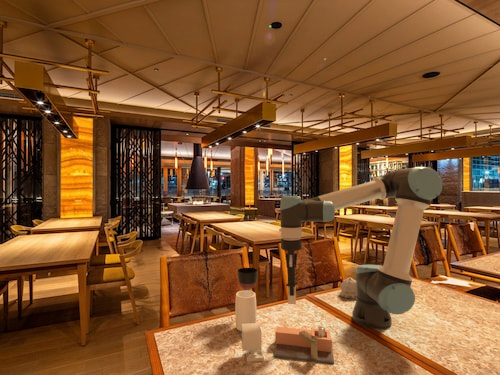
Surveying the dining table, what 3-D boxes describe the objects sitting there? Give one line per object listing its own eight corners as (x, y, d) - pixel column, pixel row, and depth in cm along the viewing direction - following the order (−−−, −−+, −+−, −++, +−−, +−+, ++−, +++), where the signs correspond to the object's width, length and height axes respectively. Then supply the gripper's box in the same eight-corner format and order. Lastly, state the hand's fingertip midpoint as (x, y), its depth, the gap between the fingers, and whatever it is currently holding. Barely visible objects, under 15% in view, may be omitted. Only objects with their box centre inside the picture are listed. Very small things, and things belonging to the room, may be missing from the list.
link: (330, 341, 99) (330, 330, 99) (331, 352, 93) (331, 340, 93) (277, 335, 104) (277, 324, 104) (274, 345, 97) (274, 333, 97)
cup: (259, 326, 113) (259, 291, 113) (252, 336, 105) (252, 299, 105) (239, 323, 116) (239, 289, 116) (231, 333, 108) (231, 296, 108)
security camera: (241, 352, 95) (241, 322, 95) (261, 351, 96) (261, 321, 96) (242, 363, 89) (242, 332, 89) (264, 362, 90) (263, 331, 90)
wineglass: (256, 320, 118) (255, 273, 118) (236, 318, 120) (235, 272, 120) (259, 312, 126) (258, 268, 126) (240, 310, 127) (240, 267, 127)
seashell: (370, 300, 139) (370, 280, 139) (342, 299, 140) (342, 280, 140) (362, 291, 151) (362, 272, 151) (336, 291, 152) (336, 272, 152)
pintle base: (330, 338, 103) (330, 318, 103) (334, 367, 87) (334, 343, 87) (279, 333, 108) (279, 313, 108) (273, 359, 91) (273, 336, 91)
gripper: (282, 235, 108) (283, 295, 108) (279, 241, 96) (280, 310, 96) (301, 235, 107) (302, 296, 107) (301, 242, 94) (302, 311, 94)
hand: (292, 303), depth 101 cm, fingers closed
